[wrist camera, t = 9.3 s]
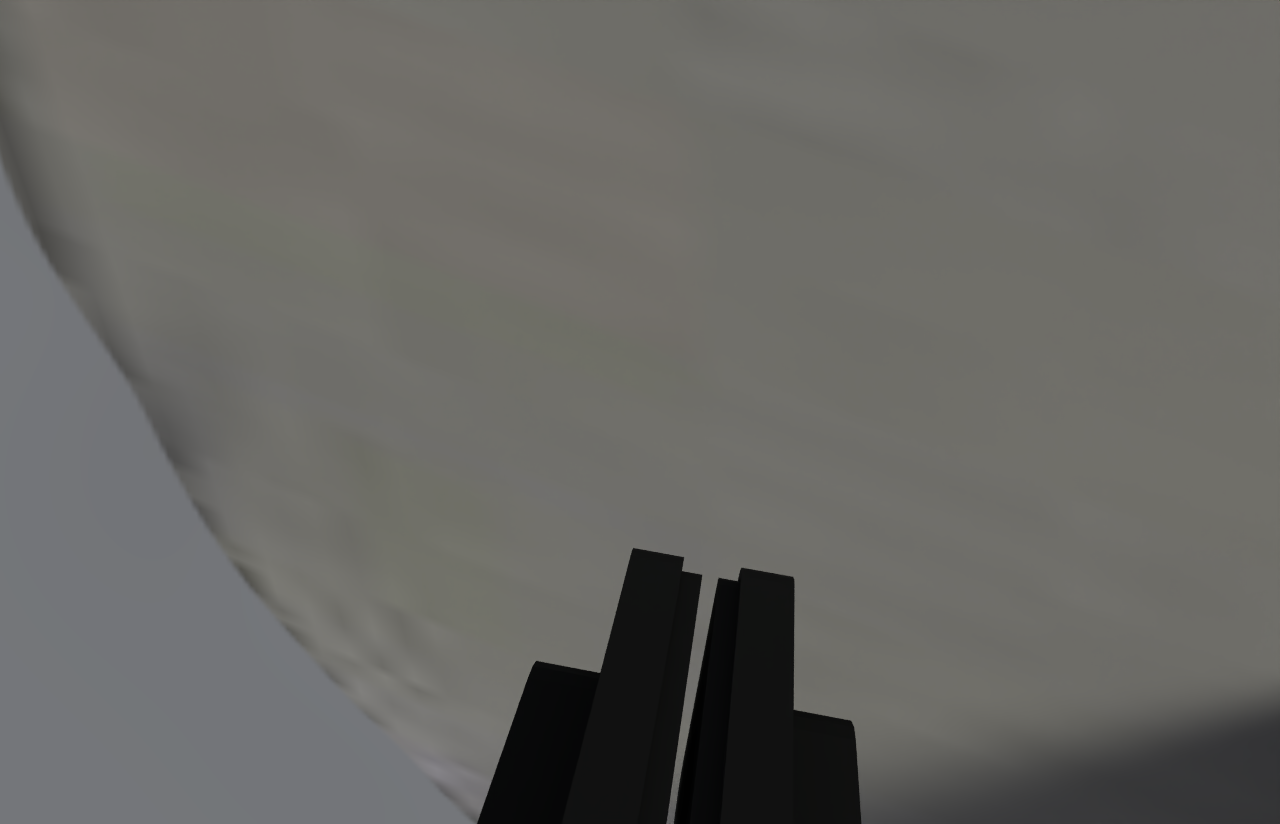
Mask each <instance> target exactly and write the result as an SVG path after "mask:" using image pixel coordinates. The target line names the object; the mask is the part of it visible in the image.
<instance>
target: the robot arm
mask: <svg viewBox="0 0 1280 824" xmlns="http://www.w3.org/2000/svg"><path fill="white" fill-rule="evenodd" d="M683 561H684V557H680V556H674V555H669V554H663V553H658V552H652V551H647V550H641V549H635V548H633V550H632V553H631V556H630V560H629V564H628V568H627V572H626V576H625V580H624V584H623V587H622V591H621V595H620V599H619V603H618V607H617V611H616V615H615V618H614V622H613V626H612V630H611V634H610V638H609V642H608V646H607V649H606V653H605V657H604V661H603V665H602V669H601V673H597V672H592V671H587V670H581V669H576V668H571V667H565V666H560V665H555V664H550V663H544V662H539V661H536V662H535V664H534V665H533V667H532V669H531V672H530V674H529V677H528V679H527V682H526V685H525V688H524V691H523V694H522V697H521V699H520V702H519V705H518V708H517V711H516V714H515V717H514V719H513V722H512V725H511V728H510V731H509V734H508V737H507V740H506V742H505V745H504V748H503V751H502V754H501V757H500V760H499V762H498V765H497V768H496V771H495V774H494V777H493V780H492V782H491V785H490V788H489V791H488V794H487V797H486V800H485V803H484V805H483V808H482V811H481V814H480V817H479V820H478V823H477V824H666V822H667V816H668V809H669V802H670V795H671V788H672V781H673V774H674V767H675V760H676V753H677V746H678V739H679V732H680V726H681V719H682V712H683V705H684V698H685V691H686V684H687V677H688V670H689V663H690V656H691V649H692V642H693V636H694V629H695V622H696V615H697V608H698V601H699V594H700V587H701V580H702V575H700V574H695V573H689V572H684V571H682V567H683ZM674 824H861V812H860V796H859V781H858V766H857V751H856V738H855V731H854V726H853V724H852V722H851V721H850V720H844V719H839V718H834V717H829V716H823V715H818V714H813V713H807V712H802V711H797V710H794V578H793V577H790V576H785V575H779V574H774V573H768V572H763V571H757V570H752V569H746V568H741V570H740V574H739V578H738V581H733V580H728V579H722V578H719V579H718V583H717V588H716V593H715V598H714V603H713V608H712V614H711V619H710V624H709V629H708V635H707V640H706V645H705V650H704V656H703V661H702V666H701V671H700V677H699V682H698V687H697V692H696V698H695V703H694V708H693V713H692V719H691V724H690V729H689V734H688V739H687V745H686V750H685V755H684V760H683V766H682V772H681V778H680V784H679V790H678V797H677V804H676V811H675V819H674Z"/></svg>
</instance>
